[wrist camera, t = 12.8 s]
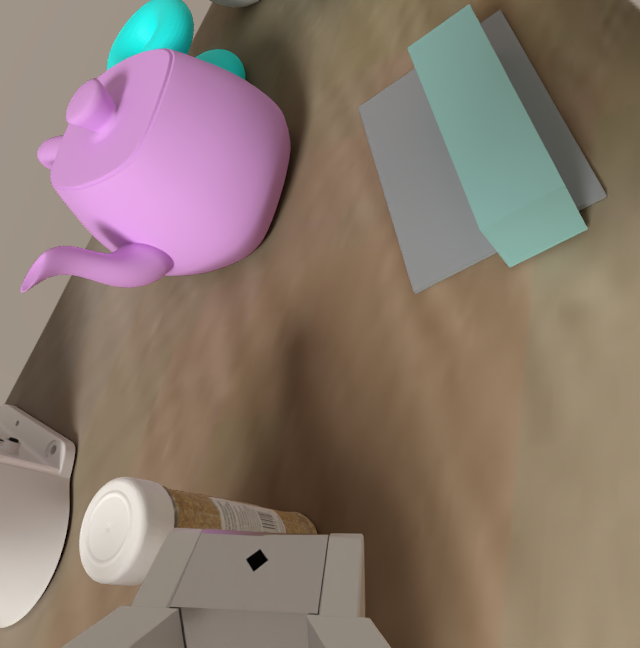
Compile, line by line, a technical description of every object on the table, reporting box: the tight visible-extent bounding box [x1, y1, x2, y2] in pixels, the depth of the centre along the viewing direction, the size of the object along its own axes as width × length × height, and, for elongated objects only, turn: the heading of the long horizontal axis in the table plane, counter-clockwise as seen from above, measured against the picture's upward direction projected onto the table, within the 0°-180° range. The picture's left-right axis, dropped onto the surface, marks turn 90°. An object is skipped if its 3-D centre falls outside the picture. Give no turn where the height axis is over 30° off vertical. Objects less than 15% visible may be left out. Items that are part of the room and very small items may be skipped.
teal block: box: [407, 4, 588, 267], centre depth 36 cm, size 4×4×16 cm
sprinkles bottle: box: [79, 477, 317, 585], centre depth 31 cm, size 5×5×13 cm
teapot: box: [20, 49, 291, 293], centre depth 48 cm, size 23×21×15 cm
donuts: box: [107, 0, 245, 80], centre depth 57 cm, size 10×10×10 cm
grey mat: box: [358, 10, 607, 294], centre depth 40 cm, size 18×12×1 cm, turn 12°
